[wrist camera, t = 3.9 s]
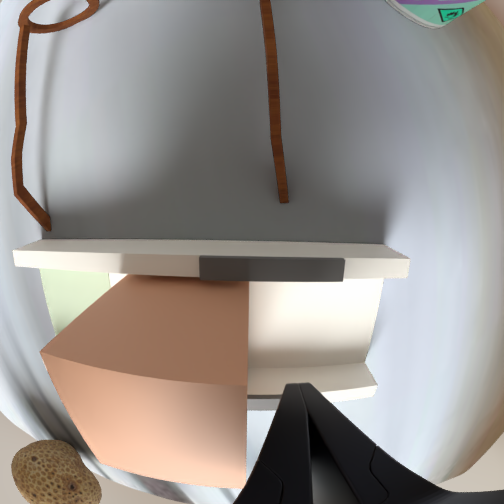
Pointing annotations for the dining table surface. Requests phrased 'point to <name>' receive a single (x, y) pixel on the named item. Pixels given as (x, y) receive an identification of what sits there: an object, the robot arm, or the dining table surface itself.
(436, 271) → the dining table surface
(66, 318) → the chute
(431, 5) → the spray can
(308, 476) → the robot arm
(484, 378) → the dining table surface
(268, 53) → the glasses
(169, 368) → the block
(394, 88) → the dining table surface
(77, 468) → the natural sponge
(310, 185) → the dining table surface
